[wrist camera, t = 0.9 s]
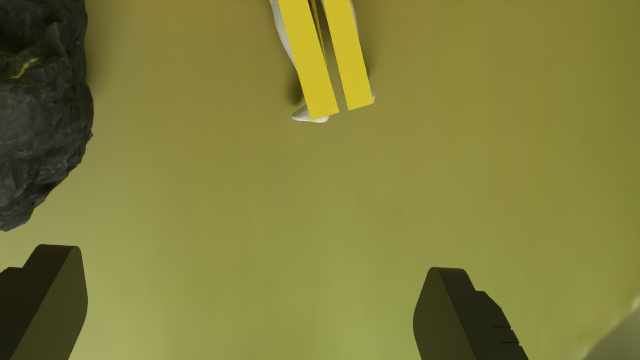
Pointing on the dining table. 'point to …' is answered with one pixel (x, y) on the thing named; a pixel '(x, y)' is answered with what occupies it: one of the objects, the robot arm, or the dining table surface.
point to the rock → (40, 101)
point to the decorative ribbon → (309, 59)
